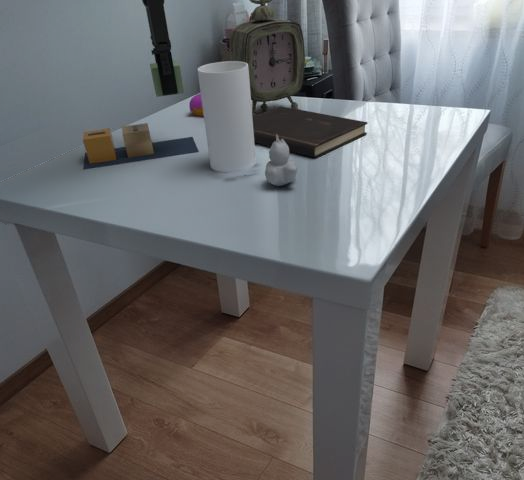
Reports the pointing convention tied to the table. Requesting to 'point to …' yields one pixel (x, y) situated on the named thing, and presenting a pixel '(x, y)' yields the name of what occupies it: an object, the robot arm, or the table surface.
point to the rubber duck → (280, 164)
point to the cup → (228, 115)
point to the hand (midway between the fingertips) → (169, 90)
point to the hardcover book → (306, 130)
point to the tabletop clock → (269, 55)
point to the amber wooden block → (99, 146)
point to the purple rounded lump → (196, 105)
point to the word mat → (159, 149)
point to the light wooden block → (137, 140)
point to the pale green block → (158, 84)
